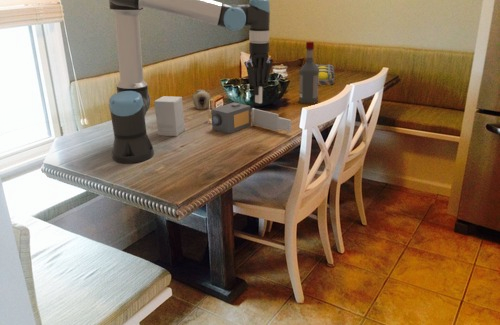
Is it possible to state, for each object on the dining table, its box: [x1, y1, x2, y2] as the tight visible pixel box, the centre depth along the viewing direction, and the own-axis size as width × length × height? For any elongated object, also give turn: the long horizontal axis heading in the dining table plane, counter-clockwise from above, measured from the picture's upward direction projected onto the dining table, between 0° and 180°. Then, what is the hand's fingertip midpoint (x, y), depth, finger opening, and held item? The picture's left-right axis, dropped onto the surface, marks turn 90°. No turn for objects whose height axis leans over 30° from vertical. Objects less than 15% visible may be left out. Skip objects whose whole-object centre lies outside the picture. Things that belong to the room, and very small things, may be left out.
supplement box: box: [153, 95, 186, 137], centre depth 189 cm, size 9×9×15 cm
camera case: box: [210, 101, 252, 134], centre depth 194 cm, size 15×10×10 cm
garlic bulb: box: [192, 89, 212, 111], centre depth 225 cm, size 9×8×10 cm
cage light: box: [315, 63, 336, 86], centre depth 275 cm, size 15×8×30 cm
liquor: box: [298, 41, 319, 104], centre depth 226 cm, size 9×9×30 cm
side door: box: [251, 107, 292, 132], centre depth 190 cm, size 21×1×7 cm, turn 47°
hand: (258, 102), depth 178 cm, fingers closed
